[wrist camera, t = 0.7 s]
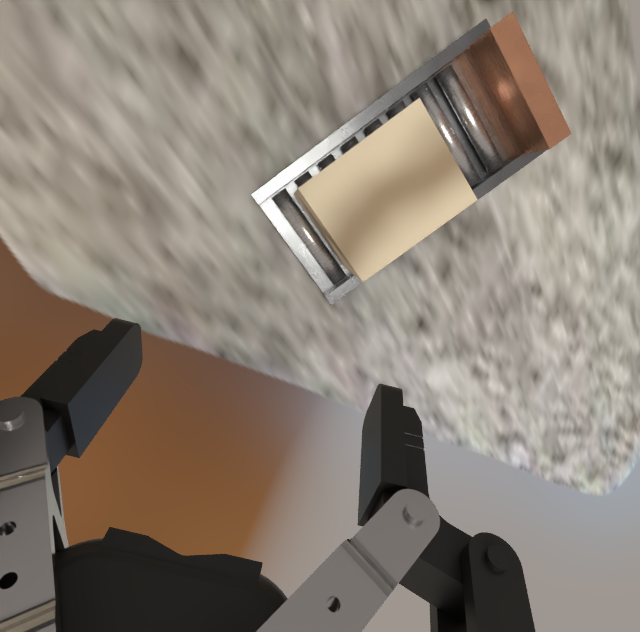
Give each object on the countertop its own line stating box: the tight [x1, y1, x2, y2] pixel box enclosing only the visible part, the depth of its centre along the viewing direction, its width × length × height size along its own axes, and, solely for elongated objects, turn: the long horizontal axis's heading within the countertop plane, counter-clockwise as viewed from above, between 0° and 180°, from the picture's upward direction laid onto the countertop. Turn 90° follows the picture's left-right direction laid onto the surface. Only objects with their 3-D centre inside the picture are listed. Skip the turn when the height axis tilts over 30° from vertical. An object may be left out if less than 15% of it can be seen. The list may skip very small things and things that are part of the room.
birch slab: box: [293, 98, 477, 282], centre depth 33 cm, size 8×10×8 cm
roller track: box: [251, 12, 571, 305], centre depth 36 cm, size 12×24×7 cm, turn 126°
